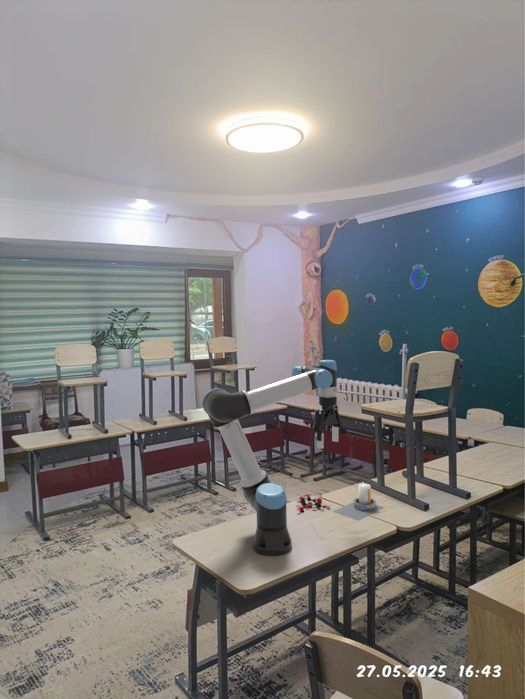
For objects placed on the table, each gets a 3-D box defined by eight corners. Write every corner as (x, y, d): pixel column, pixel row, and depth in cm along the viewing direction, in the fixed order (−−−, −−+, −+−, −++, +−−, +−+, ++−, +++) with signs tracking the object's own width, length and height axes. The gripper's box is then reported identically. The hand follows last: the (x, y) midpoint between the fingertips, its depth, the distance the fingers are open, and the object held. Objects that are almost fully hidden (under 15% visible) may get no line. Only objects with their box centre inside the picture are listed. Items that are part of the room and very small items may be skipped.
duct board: (358, 523, 211) (358, 519, 211) (333, 514, 221) (332, 511, 221) (384, 509, 225) (384, 506, 225) (359, 501, 235) (359, 499, 235)
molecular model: (299, 501, 238) (330, 496, 235) (300, 523, 227) (332, 518, 225) (294, 487, 232) (325, 482, 230) (295, 509, 222) (328, 504, 220)
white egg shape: (356, 506, 227) (355, 485, 226) (364, 503, 230) (364, 482, 229) (365, 510, 222) (365, 488, 221) (373, 507, 225) (373, 485, 224)
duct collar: (358, 511, 220) (358, 506, 220) (350, 503, 230) (350, 498, 230) (379, 509, 222) (379, 504, 222) (371, 501, 232) (371, 496, 231)
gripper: (321, 400, 198) (321, 452, 199) (348, 392, 218) (348, 439, 220) (305, 399, 203) (305, 449, 204) (333, 391, 223) (333, 437, 224)
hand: (327, 444), depth 212 cm, fingers open, 13 cm apart
